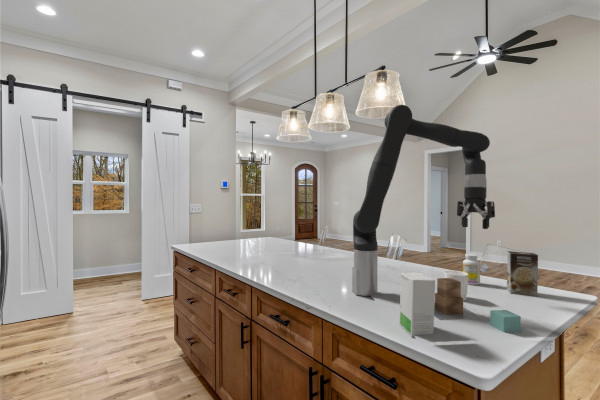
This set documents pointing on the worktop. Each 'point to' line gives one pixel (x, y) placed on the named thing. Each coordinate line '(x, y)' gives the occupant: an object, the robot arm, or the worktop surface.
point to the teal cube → (505, 320)
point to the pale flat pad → (456, 315)
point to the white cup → (459, 277)
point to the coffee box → (522, 273)
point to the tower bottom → (448, 305)
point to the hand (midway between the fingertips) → (474, 228)
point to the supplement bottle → (472, 269)
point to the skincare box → (417, 303)
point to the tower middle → (449, 288)
